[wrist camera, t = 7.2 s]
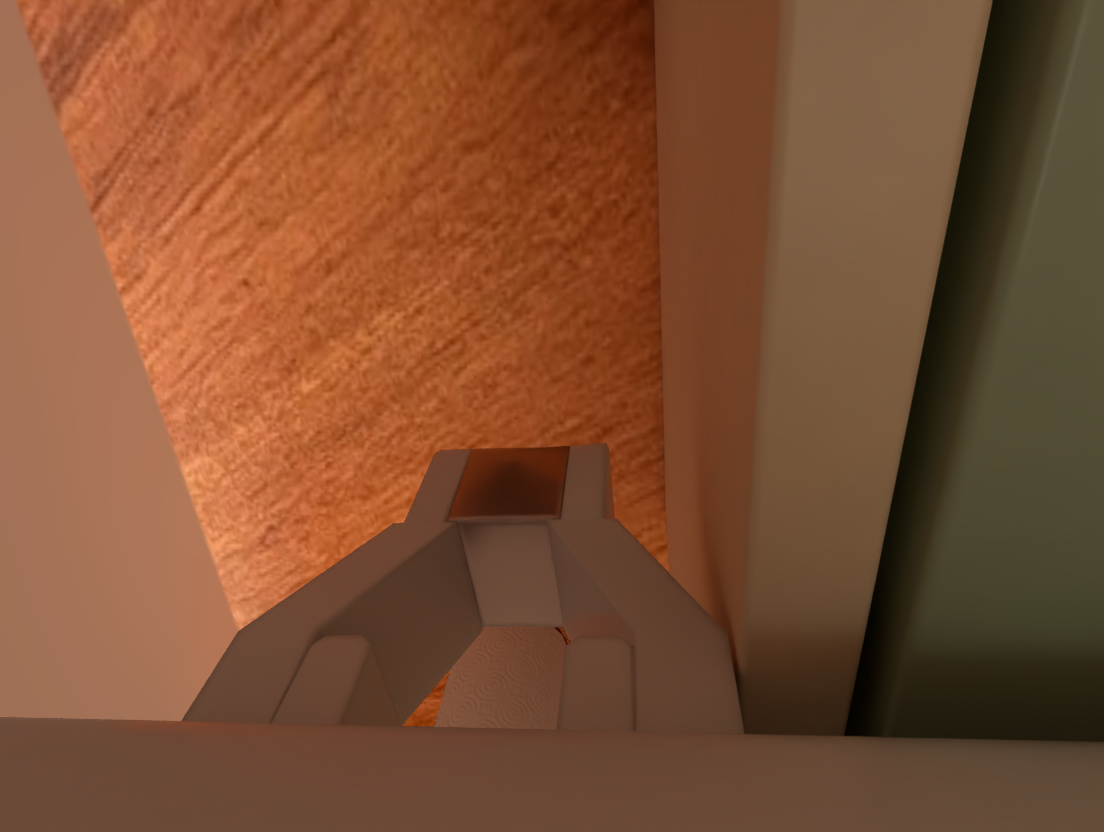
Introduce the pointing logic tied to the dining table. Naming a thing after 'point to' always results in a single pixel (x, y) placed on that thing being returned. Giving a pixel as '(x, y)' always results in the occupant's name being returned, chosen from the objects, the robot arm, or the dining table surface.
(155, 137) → the dining table surface
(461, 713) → the paper towel roll
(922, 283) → the cupboard door
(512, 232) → the dining table surface
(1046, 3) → the cupboard
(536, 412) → the dining table surface
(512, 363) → the dining table surface
